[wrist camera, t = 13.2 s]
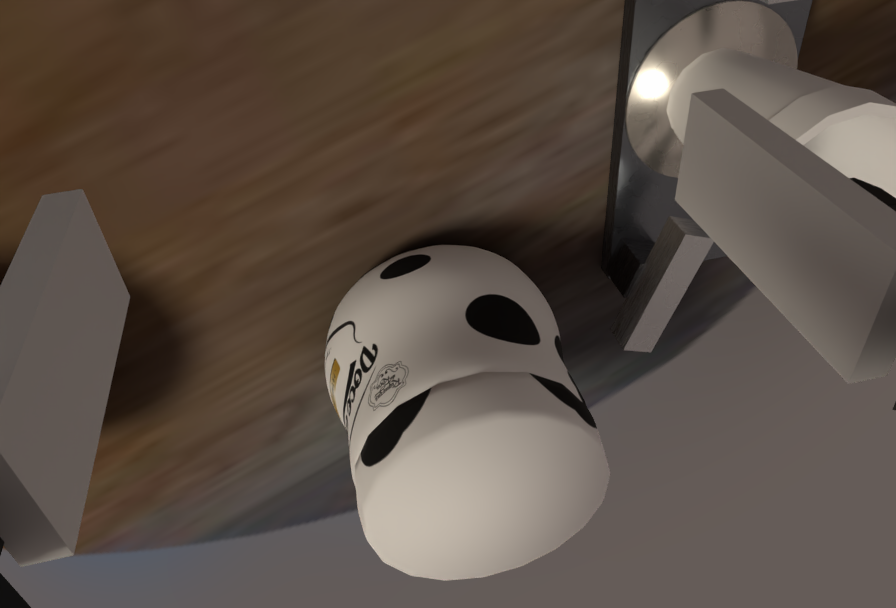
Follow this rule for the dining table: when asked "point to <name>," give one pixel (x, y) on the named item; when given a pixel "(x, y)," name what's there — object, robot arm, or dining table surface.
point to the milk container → (460, 415)
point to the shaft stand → (670, 146)
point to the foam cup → (800, 111)
